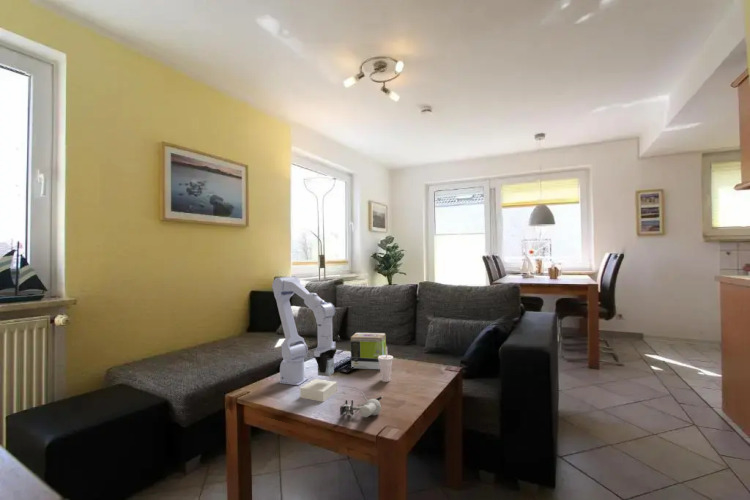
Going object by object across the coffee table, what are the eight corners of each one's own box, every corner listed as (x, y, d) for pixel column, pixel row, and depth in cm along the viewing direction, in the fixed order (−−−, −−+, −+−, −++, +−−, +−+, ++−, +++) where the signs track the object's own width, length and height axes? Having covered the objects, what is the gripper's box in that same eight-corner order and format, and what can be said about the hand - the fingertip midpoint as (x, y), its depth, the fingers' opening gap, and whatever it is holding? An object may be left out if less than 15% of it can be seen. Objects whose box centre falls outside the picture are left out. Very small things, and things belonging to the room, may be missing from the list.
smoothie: (392, 383, 142) (391, 349, 142) (376, 382, 144) (376, 348, 144) (394, 377, 149) (393, 344, 149) (379, 376, 150) (379, 344, 150)
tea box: (386, 363, 168) (386, 332, 168) (382, 370, 158) (381, 337, 158) (356, 361, 171) (356, 331, 171) (350, 368, 161) (350, 336, 161)
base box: (300, 398, 130) (300, 387, 130) (315, 388, 139) (315, 378, 139) (323, 402, 126) (323, 391, 126) (337, 392, 135) (337, 381, 135)
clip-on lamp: (359, 408, 127) (336, 419, 111) (358, 390, 129) (336, 398, 112) (389, 409, 123) (371, 421, 107) (389, 390, 125) (370, 399, 108)
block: (317, 375, 134) (317, 360, 134) (323, 371, 138) (323, 357, 138) (328, 376, 132) (328, 361, 132) (333, 372, 137) (333, 358, 137)
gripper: (325, 340, 127) (326, 377, 127) (342, 331, 141) (342, 364, 141) (308, 339, 129) (309, 375, 129) (326, 330, 143) (326, 363, 143)
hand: (325, 369), depth 135 cm, fingers closed on block, 5 cm apart
